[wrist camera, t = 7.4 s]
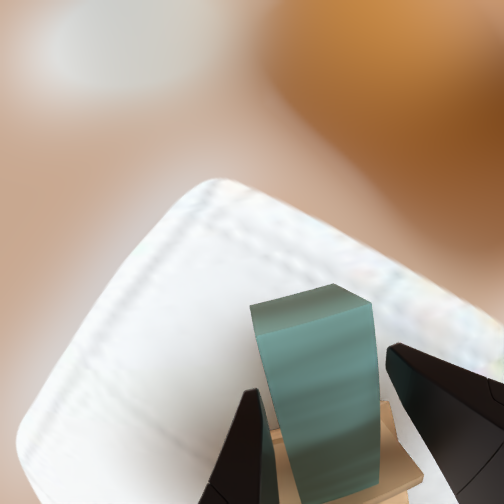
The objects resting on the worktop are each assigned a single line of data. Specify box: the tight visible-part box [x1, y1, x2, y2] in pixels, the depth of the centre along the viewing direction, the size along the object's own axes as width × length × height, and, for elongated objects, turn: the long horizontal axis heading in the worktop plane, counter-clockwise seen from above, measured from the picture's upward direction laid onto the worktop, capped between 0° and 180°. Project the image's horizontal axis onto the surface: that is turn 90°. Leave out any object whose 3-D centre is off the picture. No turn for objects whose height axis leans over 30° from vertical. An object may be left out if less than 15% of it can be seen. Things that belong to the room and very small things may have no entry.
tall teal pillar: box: [250, 284, 424, 504], centre depth 10 cm, size 6×8×10 cm
